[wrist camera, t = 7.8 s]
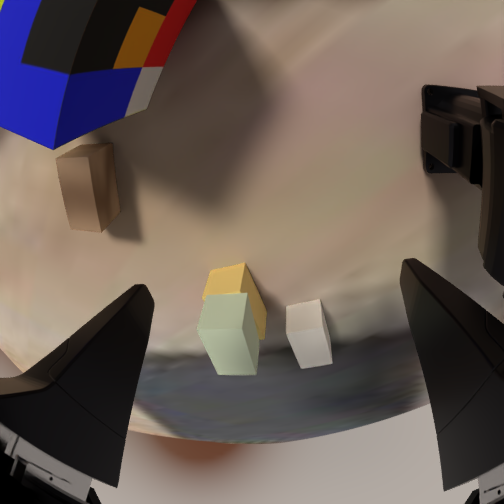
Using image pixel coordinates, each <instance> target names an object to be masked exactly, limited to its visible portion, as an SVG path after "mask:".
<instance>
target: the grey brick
mask: <svg viewBox="0 0 504 504" xmlns="http://www.w3.org/2000/svg"><path fill="white" fill-rule="evenodd" d="M286 335H287V337H288V340H289V342H290V344H291V347H292V349H293V351H294V354H295V356H296V358H297V361H298V363H299V365H300V367H301V369H304V368H310V367H316V366H322V365H328V364H333V363H332V352H331V343H330V336H329V332H328V328H327V324H326V320H325V316H324V313H323V309H322V305H321V301H320V299H318V300H313V301H309V302H304V303H299V304H294V305H289V306H286Z"/></svg>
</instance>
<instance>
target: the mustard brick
mask: <svg viewBox="0 0 504 504" xmlns="http://www.w3.org/2000/svg"><path fill="white" fill-rule="evenodd" d="M235 293H248V297H249V301H250V305H251V309H252V313H253V317H254V321H255V325H256V329H257V333H258V337H259V340H263V339H265V329H266V316H267V310H266V308H265V306H264V304H263V302H262V299H261V297H260V295H259V293H258V290H257V288H256V286H255V284H254V282H253V279H252V277H251V275H250V273H249V270H248V268H247V266H246V264H245V263H242V264H237V265H233V266H228V267H224V268H220V269H215V270H211V271H210V274H209V277H208V280H207V283H206V287H205V290H204V293H203V296H202V299H203V300H204V302H205V299H206V295H217V294H235Z"/></svg>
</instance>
